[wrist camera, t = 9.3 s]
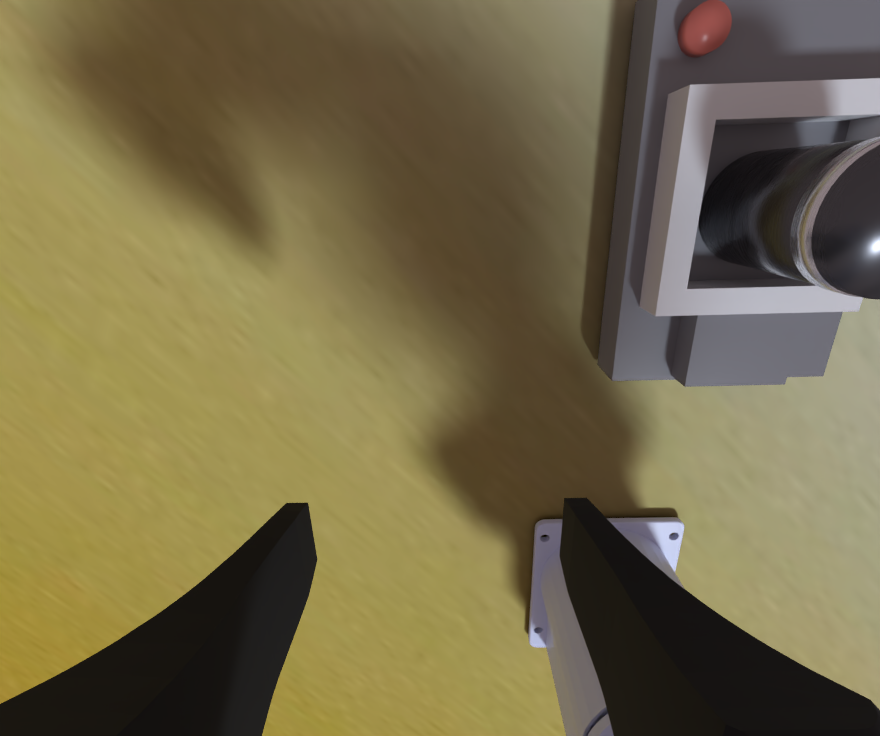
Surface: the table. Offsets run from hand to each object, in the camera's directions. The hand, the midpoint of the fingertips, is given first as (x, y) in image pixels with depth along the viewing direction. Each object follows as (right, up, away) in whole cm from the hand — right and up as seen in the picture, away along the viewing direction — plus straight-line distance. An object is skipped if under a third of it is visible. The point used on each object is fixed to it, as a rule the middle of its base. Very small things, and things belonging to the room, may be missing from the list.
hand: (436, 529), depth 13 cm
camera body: (+12, +11, +6) cm, 17 cm away
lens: (+12, +11, +4) cm, 16 cm away
